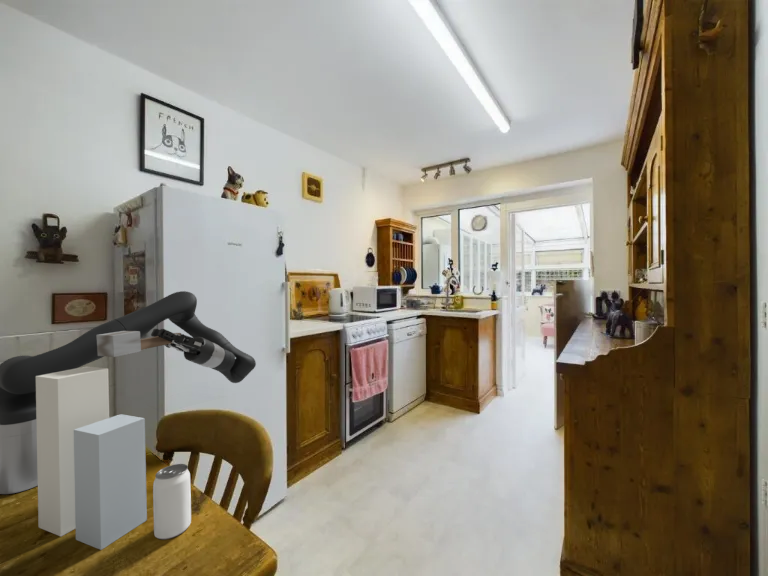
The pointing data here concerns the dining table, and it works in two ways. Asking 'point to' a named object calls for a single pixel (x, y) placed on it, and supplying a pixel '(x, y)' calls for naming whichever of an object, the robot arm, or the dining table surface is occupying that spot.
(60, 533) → the tall pedestal
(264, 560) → the dining table surface
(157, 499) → the can
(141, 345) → the mallet
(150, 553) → the dining table surface
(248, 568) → the dining table surface
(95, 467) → the short pedestal
